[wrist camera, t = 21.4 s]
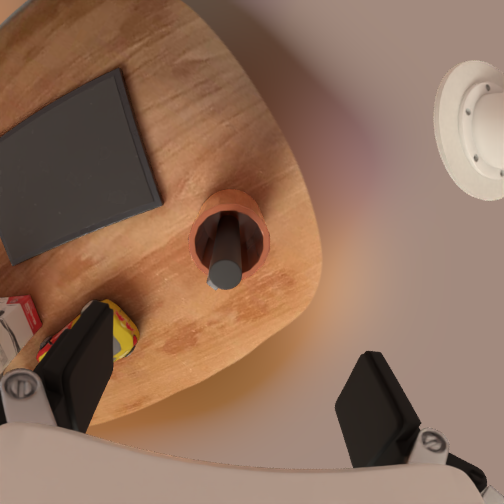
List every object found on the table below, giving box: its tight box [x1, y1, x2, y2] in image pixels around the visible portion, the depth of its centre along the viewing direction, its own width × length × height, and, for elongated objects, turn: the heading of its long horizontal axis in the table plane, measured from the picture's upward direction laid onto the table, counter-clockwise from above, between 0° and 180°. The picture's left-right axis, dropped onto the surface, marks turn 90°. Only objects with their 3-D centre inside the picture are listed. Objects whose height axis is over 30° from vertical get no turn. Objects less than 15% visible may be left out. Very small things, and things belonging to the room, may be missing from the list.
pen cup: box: [188, 189, 270, 280], centre depth 28 cm, size 6×6×8 cm
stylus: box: [207, 215, 242, 290], centre depth 25 cm, size 2×2×13 cm
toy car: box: [36, 299, 140, 362], centre depth 34 cm, size 8×17×5 cm, turn 125°
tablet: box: [0, 68, 164, 266], centre depth 29 cm, size 22×15×1 cm
